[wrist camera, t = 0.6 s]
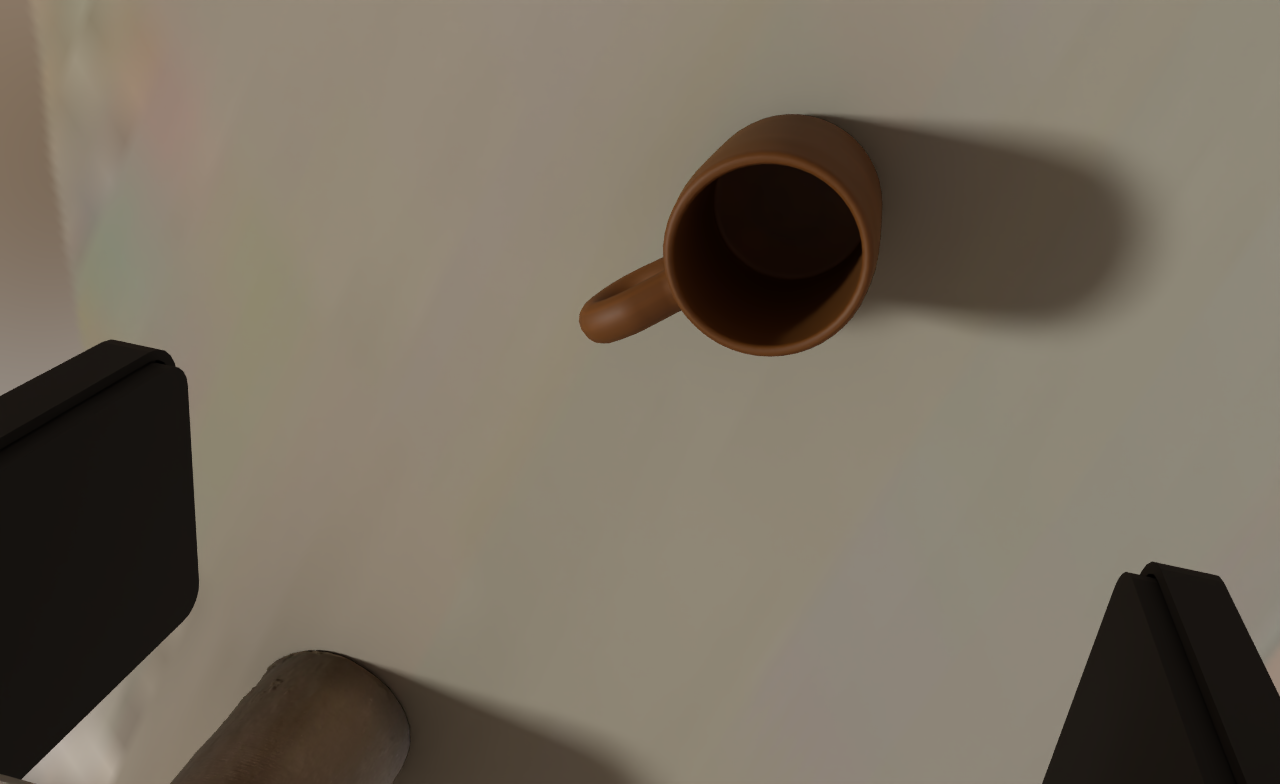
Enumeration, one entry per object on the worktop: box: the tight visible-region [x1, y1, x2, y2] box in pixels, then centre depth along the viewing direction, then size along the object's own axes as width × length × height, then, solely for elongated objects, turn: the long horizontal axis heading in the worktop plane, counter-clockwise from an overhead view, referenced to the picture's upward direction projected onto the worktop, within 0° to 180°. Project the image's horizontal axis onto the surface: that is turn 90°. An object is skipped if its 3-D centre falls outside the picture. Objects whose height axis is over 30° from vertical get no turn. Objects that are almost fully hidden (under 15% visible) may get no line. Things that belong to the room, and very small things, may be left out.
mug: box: [579, 114, 882, 356], centre depth 43 cm, size 12×8×9 cm, turn 117°
